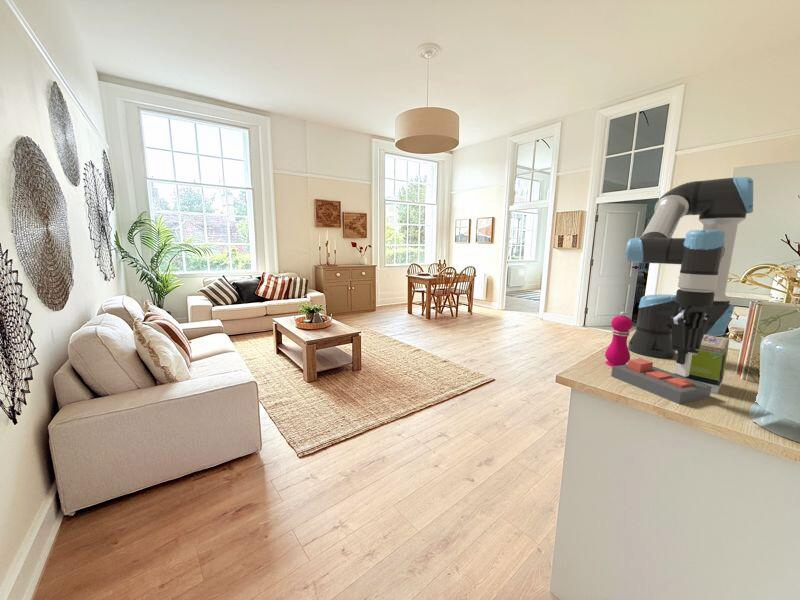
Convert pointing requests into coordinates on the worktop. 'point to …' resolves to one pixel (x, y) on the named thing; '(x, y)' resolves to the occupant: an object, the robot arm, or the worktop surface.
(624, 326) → the pepper mill
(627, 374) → the power strip
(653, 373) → the button
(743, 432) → the worktop surface
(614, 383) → the worktop surface
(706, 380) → the tea box
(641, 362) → the button
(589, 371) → the worktop surface
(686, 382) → the button
